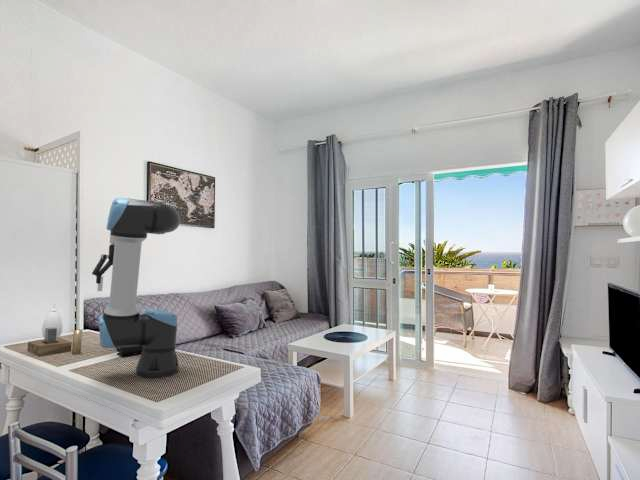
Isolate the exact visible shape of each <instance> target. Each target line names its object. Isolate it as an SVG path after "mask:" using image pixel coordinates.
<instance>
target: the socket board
mask: <svg viewBox="0 0 640 480" xmlns="http://www.w3.org/2000/svg"><path fill="white" fill-rule="evenodd" d="M44 340H45V339H40V340H34V341H33V340H31V341H28V342H27V352H28V351H29V352H28V353H30V352H31V353H30V354H32V353H33V354H32V355H34V354H35V355H34V356H36V355H37V356H36V357H45V356H46V357H47V356H51V355H52V356H53V355H56V354H64V353H70V352H71V353H72V346H73V341H72V342H71V341H69V340H67V339H64V338H61V337H59V338H56V343H50V344H44Z"/></svg>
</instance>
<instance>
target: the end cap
mask: <svg viewBox="0 0 640 480" xmlns="http://www.w3.org/2000/svg"><path fill="white" fill-rule="evenodd" d="M115 349H116V350H115V351H116V356H118V357H125V356H132V355H138V354H142V350H143V346H133V347H121V348H115Z"/></svg>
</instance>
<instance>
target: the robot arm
mask: <svg viewBox="0 0 640 480" xmlns="http://www.w3.org/2000/svg"><path fill="white" fill-rule="evenodd" d="M106 223H107V224H106V230H107V231H110V232H109V244H110V245H109V246H108V255H107V254H101V256H100V259H99V261H98V263H97V264H96V266H95V268H94V269H93V271H92V273H91V274H92V275H93V276H95V277H96V280H95V283H96V284H97V291H98V292H103V286H104V285H103V284H104V276H103V275H104V274H105V273H106V272H107V271H108V270H109V269H110V268H111V266H112V271H111V282H110V294H109V304H108V306H107V307H105V308H104V310H103V314H101V315H99V316H98V326H99V329H98V330H99V340H100V341H99V342H100V343H99V344H100V346H101V347H102V348H104V349H116V348H121V347H133V346H143V350H142V353H140V357H139V360H138V362H137V365H136V368H135V375H136V376H138V377H140V378H144V379H145V378H147V379H159V378H160V379H161V378H166V377H167V378H168V377H170V376H173V374H174V375H176V374H178V373H179V371H180V370H179V369H180V363H179V360H178V355H177V353H176V343H177V332H178V330H177V329H178V316H177V314H176V313H174V312H172V311H167V310H164V309H163V310H161V309H146V310H145V311H144V313H142V314H141V313H140V311H141V310H140V309H139V308H138V307H137V294H138V284H139V277H140V276H139V275H140V274H139V273H140V262H141V253H142V252H141V251H142V242H144V241H145V240H146V239H147V237H148V234H152V235H153V234H154V235H165V234H167V233H171V232H174V231H176V230H177V229H178V227H179V226H180V223H181V217H180V214H179V212H178V211H177V210H176V209H175V208H174V207H172V206H171V205H169V204H167V203H163V202H161V201H152V200H151V201H150V200H143V199H135V198H130V197H127V198H126V197H125V198H124V197H115V198H114V200H112V203H111V206H110V209H109V213H108V218H107V222H106ZM107 259H108V261H107ZM106 261H107V262H106ZM105 263H106V264H105ZM178 370H179V371H178ZM175 373H176V374H175Z"/></svg>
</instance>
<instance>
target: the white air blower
mask: <svg viewBox="0 0 640 480" xmlns="http://www.w3.org/2000/svg"><path fill="white" fill-rule="evenodd" d="M52 327H55V328H57V333H56V338H61V335H62V334H63V333H62V332H63V320H62V317H61V315H60V313H59V312H58V309H57V308H56V304H53V308H52V309H51V310H50V312H49V313H47V315H46V317H45V318H44V320H43V324H42V327H41V331H42V333H41V334H42V337H43V340H45V329H46V328H52Z"/></svg>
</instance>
